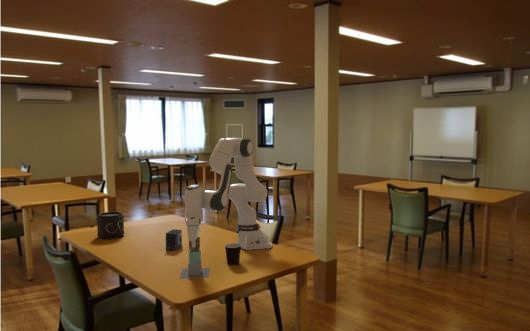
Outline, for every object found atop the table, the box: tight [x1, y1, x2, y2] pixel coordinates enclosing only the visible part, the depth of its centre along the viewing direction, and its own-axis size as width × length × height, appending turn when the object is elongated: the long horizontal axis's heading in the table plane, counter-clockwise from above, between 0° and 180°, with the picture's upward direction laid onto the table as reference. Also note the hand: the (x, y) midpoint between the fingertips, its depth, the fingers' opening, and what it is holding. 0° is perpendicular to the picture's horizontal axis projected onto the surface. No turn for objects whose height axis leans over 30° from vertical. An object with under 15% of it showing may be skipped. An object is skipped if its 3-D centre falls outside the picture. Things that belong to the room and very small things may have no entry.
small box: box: [165, 229, 183, 251], centre depth 245 cm, size 11×6×10 cm, turn 168°
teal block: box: [188, 248, 202, 264], centre depth 200 cm, size 6×6×6 cm
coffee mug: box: [224, 242, 242, 266], centre depth 216 cm, size 12×9×10 cm
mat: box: [178, 267, 211, 280], centre depth 200 cm, size 14×14×1 cm
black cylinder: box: [96, 211, 125, 240], centre depth 274 cm, size 18×18×16 cm
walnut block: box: [188, 236, 201, 251], centre depth 199 cm, size 5×5×5 cm
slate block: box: [187, 261, 203, 275], centre depth 200 cm, size 6×6×6 cm
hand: (194, 245), depth 199 cm, fingers closed on walnut block, 5 cm apart
